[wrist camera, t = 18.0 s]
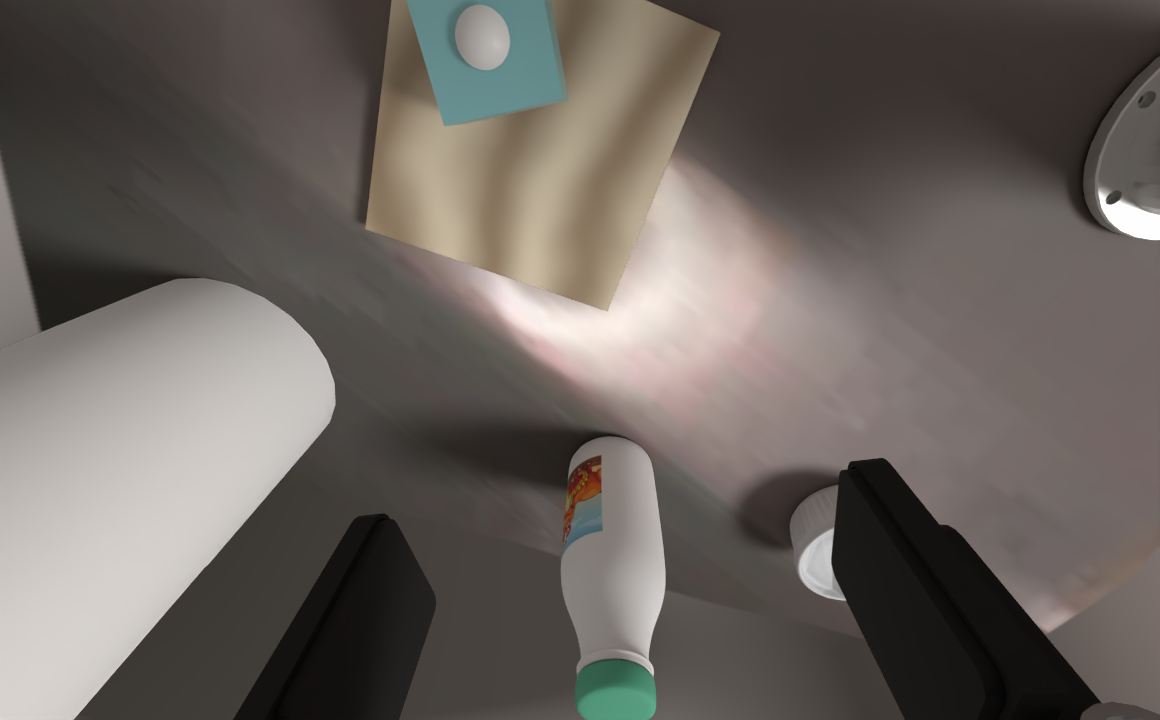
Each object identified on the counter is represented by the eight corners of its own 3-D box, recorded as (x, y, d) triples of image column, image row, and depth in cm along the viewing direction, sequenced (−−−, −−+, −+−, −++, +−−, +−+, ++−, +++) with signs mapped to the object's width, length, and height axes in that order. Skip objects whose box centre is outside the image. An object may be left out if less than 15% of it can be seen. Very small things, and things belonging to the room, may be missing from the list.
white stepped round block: (148, 232, 34) (-990, 552, 10) (365, 354, 39) (-48, 790, 14) (113, 390, 41) (-594, 802, 17) (299, 478, 46) (-51, 909, 21)
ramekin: (754, 521, 46) (771, 567, 41) (849, 453, 41) (880, 497, 37) (828, 569, 49) (851, 617, 44) (923, 510, 44) (961, 558, 40)
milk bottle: (631, 421, 41) (652, 660, 23) (664, 480, 44) (706, 730, 26) (554, 450, 43) (521, 691, 25) (592, 505, 46) (585, 753, 28)
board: (716, 35, 27) (721, 32, 26) (607, 305, 35) (607, 311, 34) (412, -96, 25) (403, -105, 24) (373, 225, 33) (365, 228, 32)
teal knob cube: (432, -4, 24) (393, -29, 20) (544, -34, 23) (530, -68, 19) (467, 123, 27) (440, 126, 22) (568, 100, 26) (561, 98, 22)
